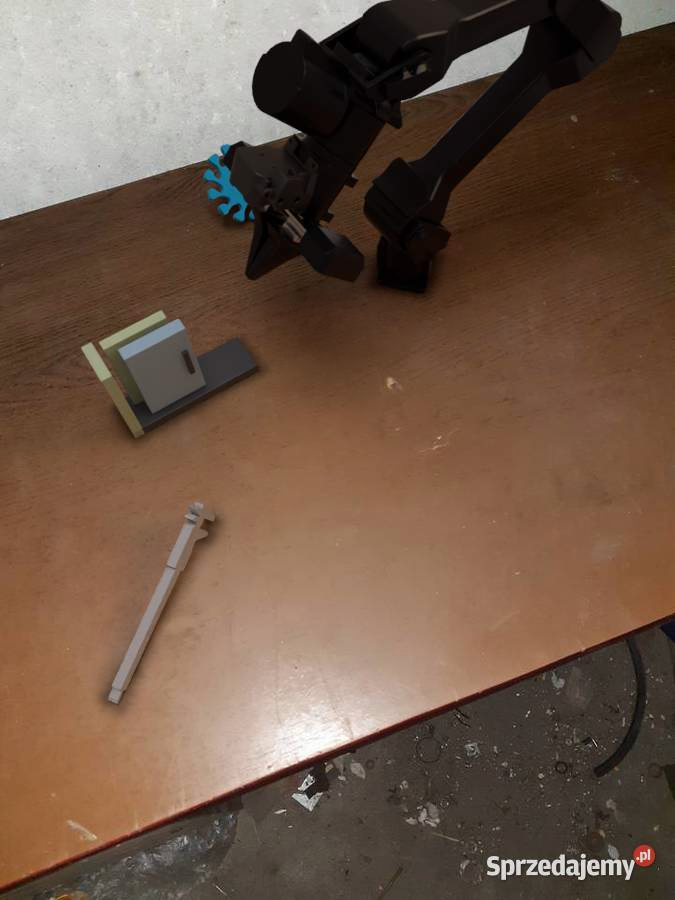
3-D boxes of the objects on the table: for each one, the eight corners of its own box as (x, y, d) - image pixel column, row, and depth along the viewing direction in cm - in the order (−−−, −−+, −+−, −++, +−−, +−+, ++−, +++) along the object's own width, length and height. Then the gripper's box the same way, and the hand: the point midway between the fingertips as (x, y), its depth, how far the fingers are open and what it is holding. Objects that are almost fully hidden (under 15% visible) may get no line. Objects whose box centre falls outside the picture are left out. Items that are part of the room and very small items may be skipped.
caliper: (207, 515, 74) (195, 492, 69) (216, 518, 74) (204, 495, 69) (109, 700, 66) (86, 691, 60) (119, 705, 66) (96, 695, 60)
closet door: (199, 375, 81) (178, 317, 71) (207, 386, 80) (187, 330, 71) (146, 404, 79) (117, 349, 70) (153, 416, 79) (125, 362, 69)
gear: (227, 231, 91) (193, 155, 87) (212, 238, 96) (180, 166, 92) (295, 202, 95) (266, 128, 92) (277, 210, 100) (249, 140, 97)
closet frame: (238, 342, 85) (220, 274, 74) (259, 370, 83) (244, 304, 72) (117, 407, 81) (79, 346, 70) (135, 438, 79) (100, 380, 68)
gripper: (222, 62, 63) (147, 206, 70) (335, 181, 56) (238, 328, 63) (301, 106, 72) (227, 230, 79) (408, 214, 65) (315, 340, 72)
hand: (249, 277), depth 73 cm, fingers closed
